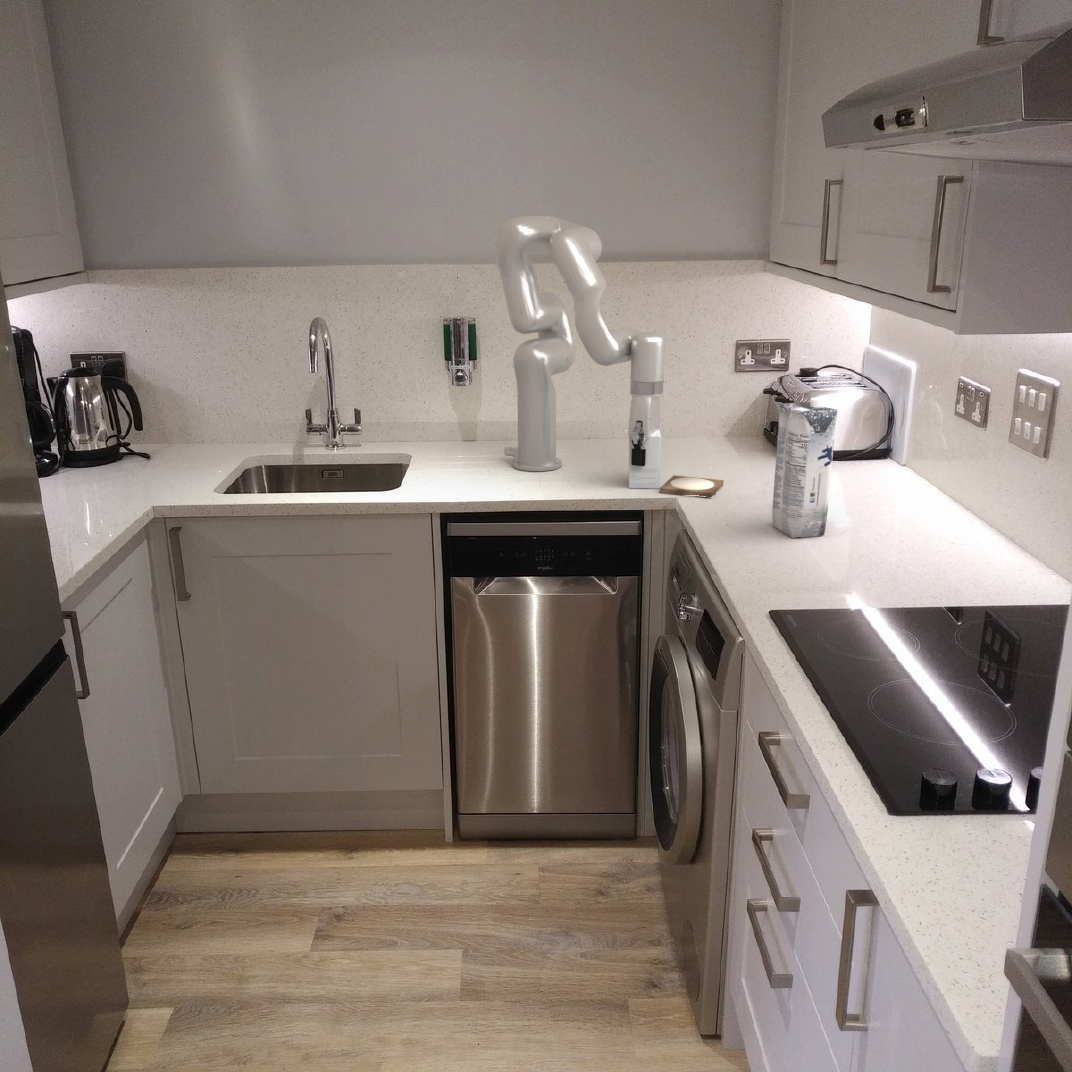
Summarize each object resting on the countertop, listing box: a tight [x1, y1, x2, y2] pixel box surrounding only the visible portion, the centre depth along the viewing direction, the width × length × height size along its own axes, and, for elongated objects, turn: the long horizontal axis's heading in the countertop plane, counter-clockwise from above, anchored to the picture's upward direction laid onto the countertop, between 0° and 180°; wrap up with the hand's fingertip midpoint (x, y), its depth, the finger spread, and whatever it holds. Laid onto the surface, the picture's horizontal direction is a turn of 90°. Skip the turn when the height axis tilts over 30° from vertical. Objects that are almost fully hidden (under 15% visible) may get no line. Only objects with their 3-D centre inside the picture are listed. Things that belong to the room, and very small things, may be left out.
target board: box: [659, 474, 724, 497], centre depth 235 cm, size 12×12×1 cm
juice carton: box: [771, 397, 838, 539], centre depth 201 cm, size 9×10×27 cm
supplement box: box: [628, 429, 662, 490], centre depth 237 cm, size 7×7×13 cm
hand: (644, 460), depth 237 cm, fingers open, 9 cm apart
